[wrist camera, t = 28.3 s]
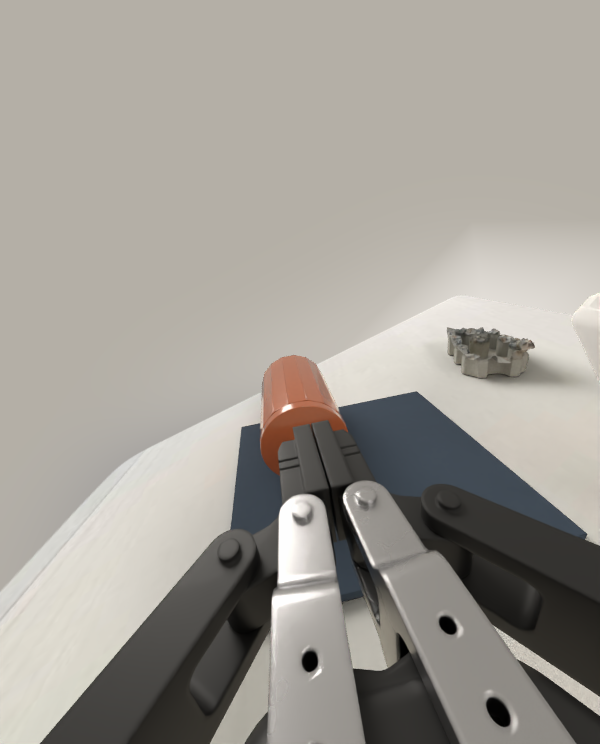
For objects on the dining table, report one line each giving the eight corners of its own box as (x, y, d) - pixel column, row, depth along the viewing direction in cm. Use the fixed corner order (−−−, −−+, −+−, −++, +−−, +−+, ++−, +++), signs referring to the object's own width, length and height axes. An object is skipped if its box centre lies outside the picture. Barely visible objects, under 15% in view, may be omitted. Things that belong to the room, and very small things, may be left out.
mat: (223, 632, 14) (220, 625, 14) (242, 431, 31) (241, 426, 30) (585, 541, 15) (587, 533, 15) (416, 395, 32) (416, 391, 32)
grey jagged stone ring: (534, 378, 32) (540, 344, 30) (459, 379, 34) (461, 348, 32) (500, 346, 41) (504, 318, 39) (443, 349, 43) (444, 323, 42)
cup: (251, 415, 19) (256, 361, 29) (269, 488, 22) (269, 415, 32) (345, 398, 19) (318, 350, 30) (352, 471, 22) (325, 404, 32)
